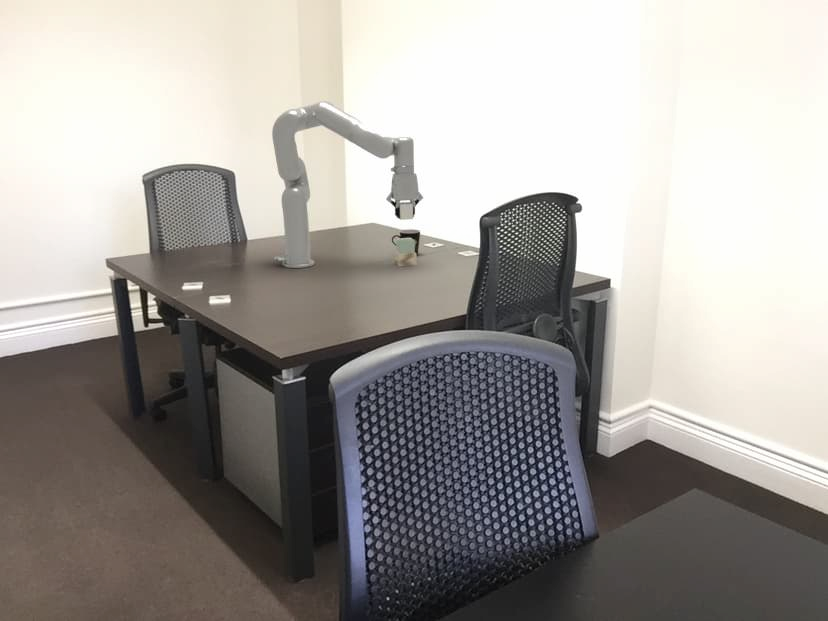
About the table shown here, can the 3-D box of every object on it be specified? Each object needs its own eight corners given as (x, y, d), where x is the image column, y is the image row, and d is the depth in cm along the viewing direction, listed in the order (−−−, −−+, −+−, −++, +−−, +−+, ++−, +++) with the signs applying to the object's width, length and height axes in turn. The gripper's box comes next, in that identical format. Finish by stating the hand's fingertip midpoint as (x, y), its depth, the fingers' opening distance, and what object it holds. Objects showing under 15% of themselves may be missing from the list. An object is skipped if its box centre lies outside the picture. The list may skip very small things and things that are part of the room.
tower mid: (400, 253, 286) (399, 241, 285) (396, 250, 292) (396, 238, 290) (414, 252, 288) (414, 240, 286) (410, 249, 293) (410, 237, 292)
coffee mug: (421, 252, 310) (421, 229, 308) (419, 257, 302) (419, 233, 299) (394, 252, 312) (393, 229, 309) (391, 256, 303) (391, 233, 300)
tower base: (399, 266, 287) (399, 254, 285) (395, 262, 293) (394, 250, 292) (416, 265, 289) (416, 253, 287) (411, 261, 295) (411, 249, 294)
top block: (400, 219, 283) (400, 204, 281) (397, 217, 287) (397, 202, 285) (413, 219, 284) (412, 203, 282) (409, 217, 288) (409, 201, 287)
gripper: (385, 172, 274) (386, 220, 280) (428, 170, 279) (428, 217, 284) (380, 170, 281) (381, 217, 287) (422, 168, 286) (423, 214, 291)
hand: (405, 216), depth 285 cm, fingers closed on top block, 4 cm apart
